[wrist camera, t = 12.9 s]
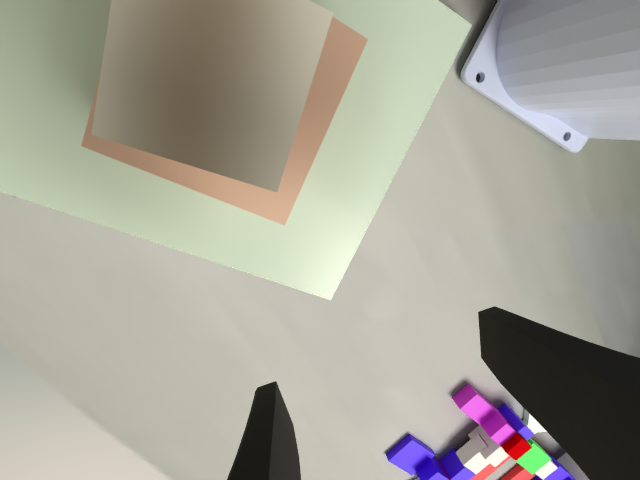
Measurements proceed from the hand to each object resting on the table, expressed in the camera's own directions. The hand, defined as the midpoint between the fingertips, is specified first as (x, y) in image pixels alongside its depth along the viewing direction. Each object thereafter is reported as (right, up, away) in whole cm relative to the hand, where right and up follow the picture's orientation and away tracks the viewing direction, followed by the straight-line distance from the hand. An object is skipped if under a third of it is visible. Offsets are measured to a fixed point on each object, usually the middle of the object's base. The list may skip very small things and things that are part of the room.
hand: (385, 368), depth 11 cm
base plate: (-6, +11, +5) cm, 14 cm away
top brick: (-6, +10, +1) cm, 11 cm away
